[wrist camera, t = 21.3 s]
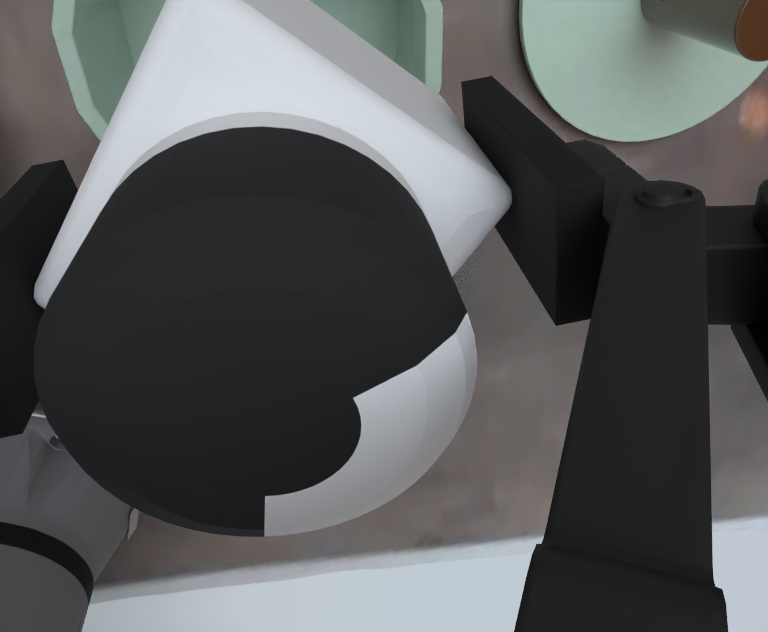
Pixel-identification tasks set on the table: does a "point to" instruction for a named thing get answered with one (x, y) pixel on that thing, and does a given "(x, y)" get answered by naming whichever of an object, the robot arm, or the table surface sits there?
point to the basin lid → (642, 60)
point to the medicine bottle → (265, 276)
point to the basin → (143, 6)
